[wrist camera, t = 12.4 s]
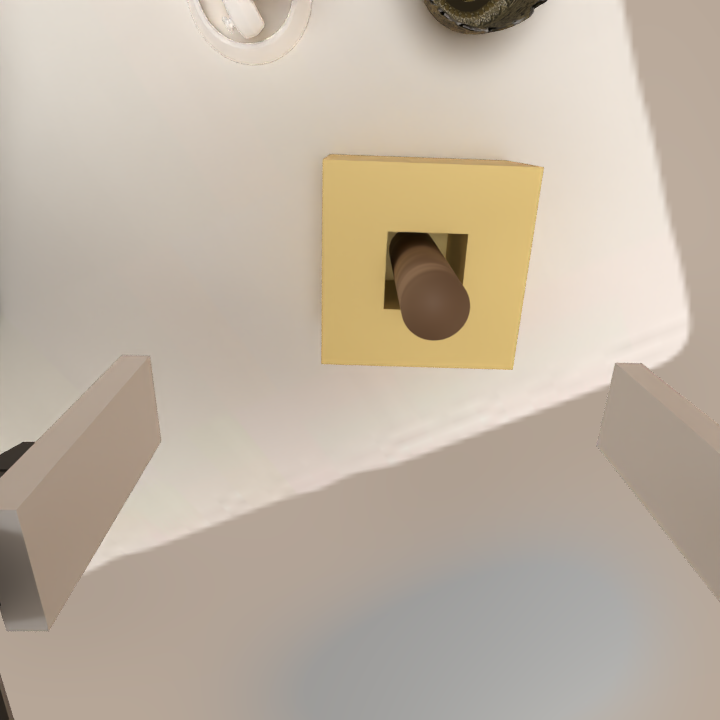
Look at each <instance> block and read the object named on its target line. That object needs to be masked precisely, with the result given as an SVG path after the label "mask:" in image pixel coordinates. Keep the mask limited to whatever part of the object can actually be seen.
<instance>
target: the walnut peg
mask: <svg viewBox="0 0 720 720" xmlns="http://www.w3.org/2000/svg"><path fill="white" fill-rule="evenodd" d="M389 255H390V260H391V265H392V270H393V275H394V280H395V285H396V290H397V295H398V299H399V304H400V309H401V314H402V318H403V321H404V323H405V325H406V326H407V328H408V329H409V330H410V331H411V332H412V333H413V334H414V335H416V336H418V337H420V338H422V339H425V340H432V341H436V340H443V339H446V338H449V337H451V336H453V335H454V334H456V333H457V332H458V331H459V330H460V329H461V328H462V327H463V326H464V324H465V323H466V321H467V319H468V316H469V312H470V299H469V296H468V293H467V291H466V289H465V288H464V286H463V285H462V283H461V282H460V280H459V279H458V277H457V276H456V274H455V273H454V271H453V270H452V268H451V267H450V265H449V263H448V262H447V260H446V259H445V257H444V256H443V254H442V253H441V251H440V250H439V248H438V247H437V245H436V244H435V242H434V241H433V239H432V238H431V236H430V235H429V234H428V233H421V232H398V233H396V234H395V236H394V237H393V238H392V240H391V242H390V246H389Z"/></svg>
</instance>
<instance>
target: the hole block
mask: <svg viewBox="0 0 720 720" xmlns="http://www.w3.org/2000/svg"><path fill="white" fill-rule="evenodd" d="M543 169H544V167H539V166H534V165H528V164H523V163H517V162H512V161H505V160H477V159H449V158H420V157H392V156H364V155H335V154H330V155H328V156H327V157H326V158H324V159H323V187H322V347H321V364H336V365H370V366H403V367H437V368H471V369H505V370H513V364H514V357H515V351H516V344H517V338H518V331H519V325H520V318H521V312H522V306H523V299H524V293H525V286H526V280H527V273H528V267H529V260H530V254H531V247H532V241H533V234H534V228H535V221H536V215H537V208H538V202H539V195H540V189H541V182H542V176H543ZM398 232H421V233H428V234H429V235H430V236H431V238H432V239H433V241H434V242H435V244H436V245H437V247H438V248H439V250H440V251H441V253H442V254H443V256H444V257H445V259H446V260H447V262H448V263H449V265H450V267H451V268H452V270H453V271H454V273H455V274H456V276H457V277H458V279H459V280H460V282H461V283H462V285H463V286H464V288H465V289H466V291H467V293H468V296H469V299H470V312H469V316H468V319H467V321H466V323H465V324H464V326H463V327H462V328H461V329H460V330H459V331H458V332H457V333H456V334H454V335H453V336H451V337H449V338H446V339H443V340H436V341H432V340H425V339H422V338H420V337H418V336H416V335H414V334H413V333H412V332H411V331H410V330H409V329H408V328H407V326H406V325H405V323H404V321H403V318H402V314H401V309H400V304H399V299H398V295H397V290H396V285H395V280H394V275H393V270H392V265H391V260H390V255H389V246H390V242H391V240H392V238H393V237H394V236H395V234H396V233H398Z"/></svg>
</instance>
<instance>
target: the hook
mask: <svg viewBox="0 0 720 720" xmlns="http://www.w3.org/2000/svg"><path fill="white" fill-rule="evenodd" d="M187 1H188V5H189V9H190V12H191V16H192V18H193V20H194V22H195V24H196V27H197V29H198V30H199V32H200V33H201V35H202V36H203V38H204V39H205V40H206V41H207V42H208V43H209V44H210V45H211V47H212V48H213V49H214V50H216V51H217V52H218V53H220V54H221V55H223V56H224V57H226V58H228V59H230V60H233V61H235V62H237V63H242V64H247V65H262V64H266V63H270V62H273V61H275V60H277V59H279V58H281V57H283V56H284V55H285V54H287V53H288V52H289V51H290V50H292V49H293V47H294V46H295V45H296V44H297V42H298V41H299V40H300V38H301V37H302V35H303V33H304V31H305V29H306V27H307V23H308V20H309V17H310V13H311V5H312V0H292V4H291V7H290V11H289V14H288V16H287V18H286V20H285V22H284V24H283V25H282V26H281V27H280V29H279V30H278V31H277V32H276V33H274V34H273V35H272V36H271V37H269V38H267V39H265V40H263V41H260V42H256V43H241V42H237V41H234V40H231V39H229V38H227V37H225V36H224V35H223V34H221V33H220V32H218V31H217V30H216V29H215V28H214V27H213V25H212V24H211V23H210V22H209V20H208V19H207V17H206V16H205V14H204V12H203V10H202V7H201V5H200V2H199V0H187ZM222 2H223V4H224V5H225V7H226V9H227V13H228V15H229V17H230V18H229V19H227V18H226V17H222V20H223V22H224V24H225V26H226V27H227V29H228V30H229V32H230V33H231V34H232V33H233V27H234V26H235V27H236V29H237V30H238V32H239V33H241V34H242V35H243V37H244V38H245V39H248V38H251V37H255V36H257V35H258V34H259V33H260V32H261V31H262V29H263V28H264V26H265V23H264V21H263V19H262V17H261V15H260V13H259V11H258V9H257V7H256V5H255V3H254V1H253V0H222Z"/></svg>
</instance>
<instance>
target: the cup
mask: <svg viewBox="0 0 720 720" xmlns="http://www.w3.org/2000/svg"><path fill="white" fill-rule="evenodd" d="M546 1H547V0H424V2H425V4H426V6H427V8H428V9H429V11H430V12H431V14H432V15H433V16H434V17H435V18H436V19H437V20H438V21H439V22H440V23H441V24H443V25H444V26H446V27H447V28H449V29H451V30H454V31H457V32H460V33H465V34H483V33H489V32H495V31H500V30H504V29H507V28H509V27H512V26H515V24H519V23H521V22H523V21H524V20H526V19H527V18H529V17H530V16H531V15H532V14H533V12H534V9H535V8H536V7H538V6H539V5H541V4H543V3H545V2H546Z"/></svg>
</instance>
